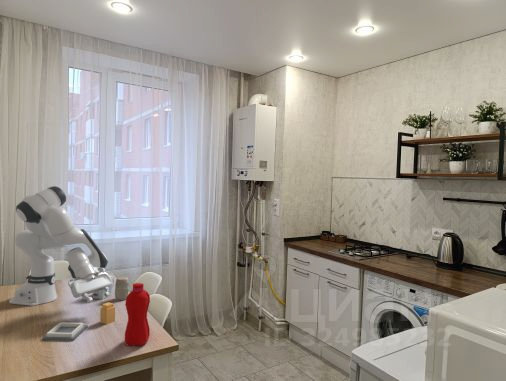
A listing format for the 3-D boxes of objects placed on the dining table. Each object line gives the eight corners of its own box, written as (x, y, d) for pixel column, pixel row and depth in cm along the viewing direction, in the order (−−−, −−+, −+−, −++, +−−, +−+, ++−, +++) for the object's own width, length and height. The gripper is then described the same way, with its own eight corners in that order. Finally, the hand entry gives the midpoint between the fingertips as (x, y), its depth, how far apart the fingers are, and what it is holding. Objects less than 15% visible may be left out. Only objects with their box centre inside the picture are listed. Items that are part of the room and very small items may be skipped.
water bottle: (152, 334, 152) (153, 279, 151) (144, 347, 141) (146, 287, 140) (131, 334, 152) (132, 278, 151) (122, 346, 141) (123, 286, 140)
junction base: (42, 340, 144) (42, 334, 144) (59, 326, 157) (59, 321, 157) (73, 340, 144) (73, 335, 144) (87, 327, 157) (87, 321, 157)
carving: (130, 299, 194) (131, 278, 194) (117, 302, 189) (117, 280, 189) (126, 295, 199) (126, 275, 198) (113, 298, 194) (113, 277, 193)
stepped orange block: (100, 322, 163) (100, 304, 163) (108, 318, 167) (108, 301, 167) (106, 324, 161) (107, 306, 161) (114, 321, 165) (115, 303, 165)
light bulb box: (102, 299, 192) (103, 280, 191) (92, 298, 193) (92, 279, 193) (114, 293, 202) (114, 275, 202) (104, 292, 204) (104, 274, 203)
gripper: (69, 276, 160) (82, 301, 156) (107, 267, 178) (119, 289, 174) (63, 284, 162) (76, 309, 158) (101, 274, 180) (113, 296, 176)
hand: (99, 298), depth 166 cm, fingers open, 8 cm apart
